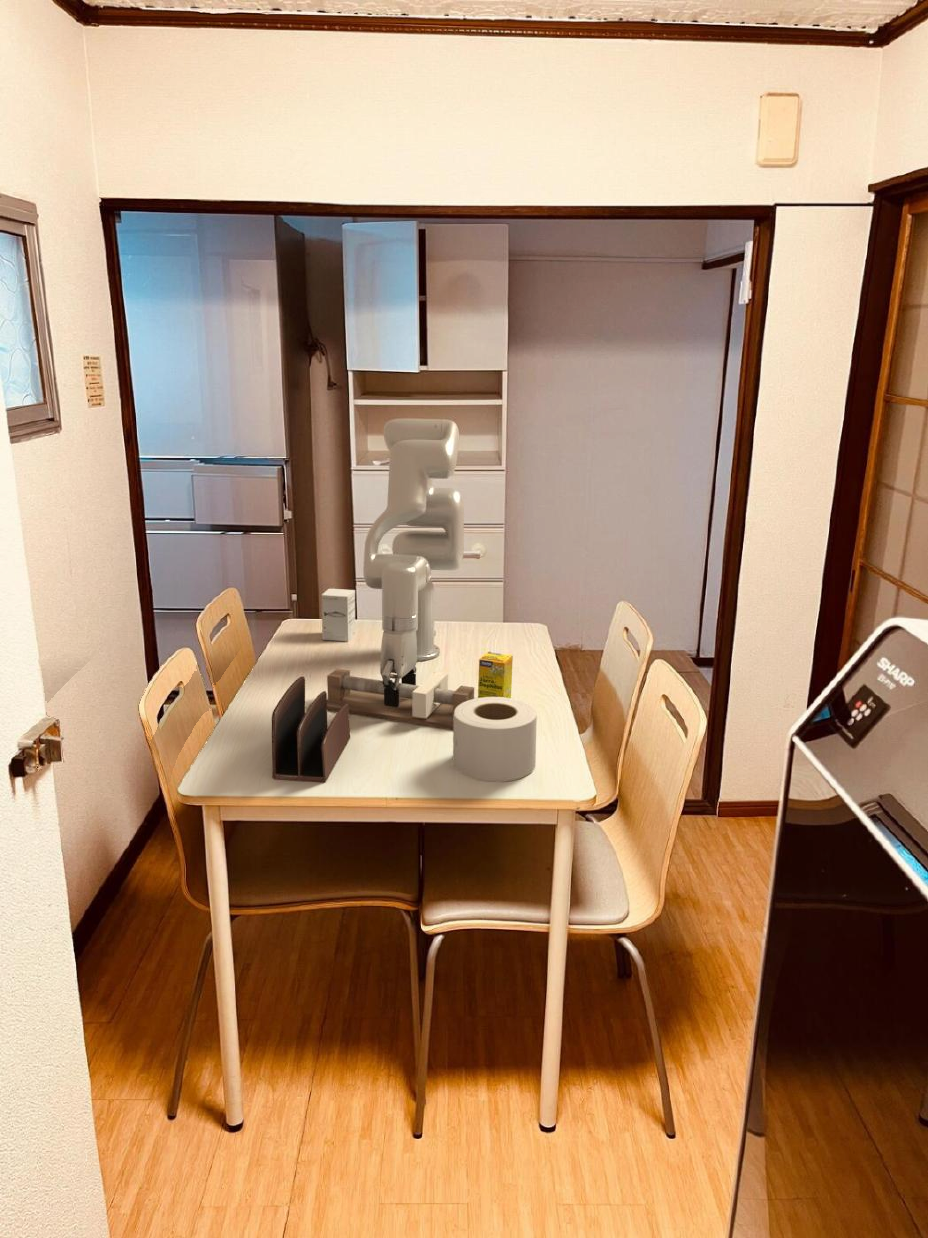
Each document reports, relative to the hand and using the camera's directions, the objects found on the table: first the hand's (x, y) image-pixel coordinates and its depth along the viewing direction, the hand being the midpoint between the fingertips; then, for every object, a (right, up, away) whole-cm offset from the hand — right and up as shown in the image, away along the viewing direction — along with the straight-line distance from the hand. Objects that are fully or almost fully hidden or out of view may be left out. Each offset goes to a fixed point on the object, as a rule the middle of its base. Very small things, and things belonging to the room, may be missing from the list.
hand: (400, 697), depth 198 cm
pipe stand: (0, -3, +1) cm, 3 cm away
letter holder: (-15, -10, -23) cm, 29 cm away
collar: (+7, -2, -2) cm, 7 cm away
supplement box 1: (-20, +12, +49) cm, 54 cm away
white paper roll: (+19, -11, -24) cm, 33 cm away
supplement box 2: (+20, -2, +5) cm, 21 cm away
